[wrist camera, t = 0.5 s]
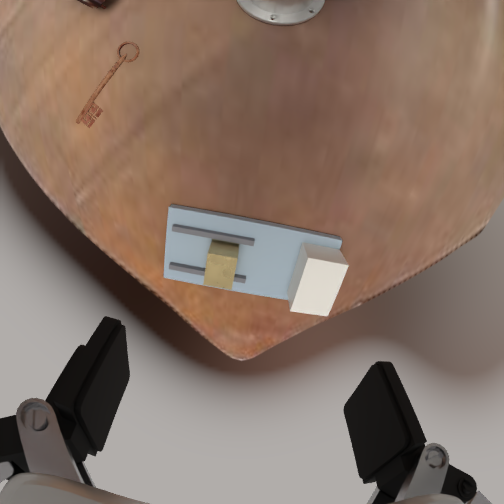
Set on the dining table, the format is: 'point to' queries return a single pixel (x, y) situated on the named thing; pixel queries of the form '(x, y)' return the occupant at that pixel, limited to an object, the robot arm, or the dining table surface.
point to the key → (100, 87)
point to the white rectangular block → (316, 279)
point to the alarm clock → (93, 3)
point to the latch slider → (221, 264)
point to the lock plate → (250, 249)
